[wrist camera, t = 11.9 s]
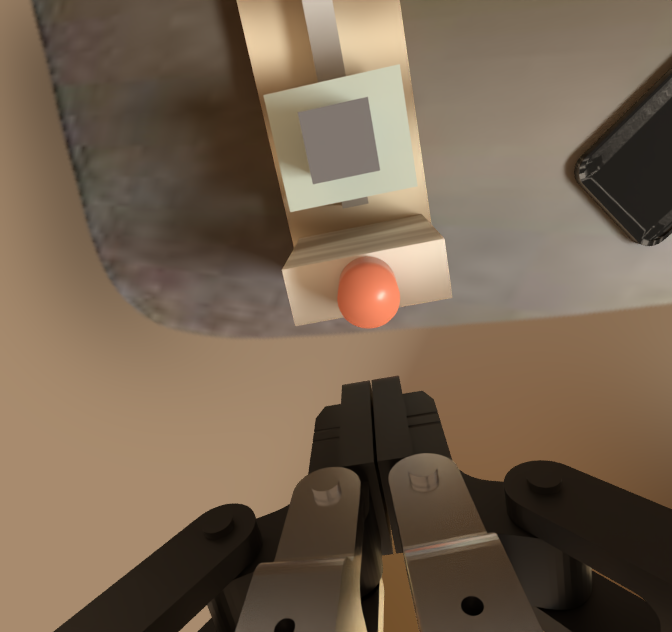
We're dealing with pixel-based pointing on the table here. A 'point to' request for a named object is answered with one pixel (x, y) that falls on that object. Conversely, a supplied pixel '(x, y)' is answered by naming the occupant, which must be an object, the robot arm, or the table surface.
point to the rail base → (297, 70)
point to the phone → (635, 167)
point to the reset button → (368, 292)
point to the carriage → (342, 138)
